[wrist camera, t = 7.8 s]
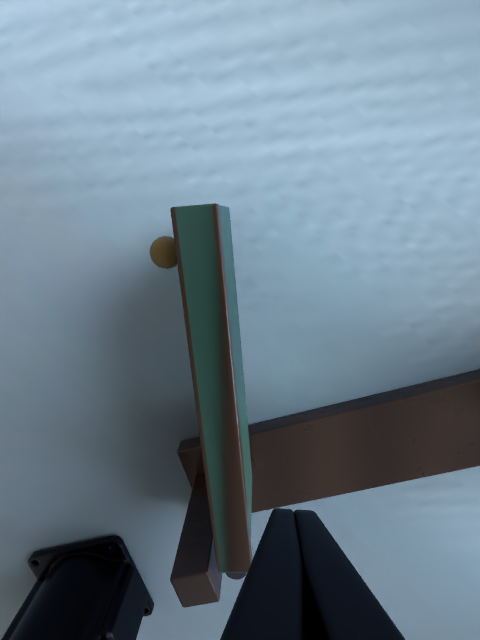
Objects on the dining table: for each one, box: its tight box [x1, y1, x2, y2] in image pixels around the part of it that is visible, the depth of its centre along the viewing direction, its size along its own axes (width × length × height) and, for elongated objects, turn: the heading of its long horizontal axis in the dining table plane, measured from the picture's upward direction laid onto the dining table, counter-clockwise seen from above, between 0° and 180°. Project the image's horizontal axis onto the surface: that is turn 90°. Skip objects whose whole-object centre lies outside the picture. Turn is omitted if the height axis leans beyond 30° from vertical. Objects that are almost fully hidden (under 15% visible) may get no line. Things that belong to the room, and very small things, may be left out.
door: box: [150, 204, 252, 579], centre depth 15 cm, size 15×3×5 cm, turn 5°
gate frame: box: [170, 370, 480, 607], centre depth 17 cm, size 20×5×7 cm, turn 107°
